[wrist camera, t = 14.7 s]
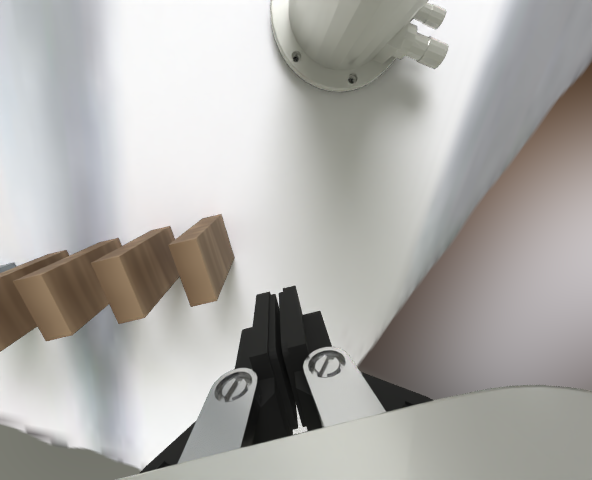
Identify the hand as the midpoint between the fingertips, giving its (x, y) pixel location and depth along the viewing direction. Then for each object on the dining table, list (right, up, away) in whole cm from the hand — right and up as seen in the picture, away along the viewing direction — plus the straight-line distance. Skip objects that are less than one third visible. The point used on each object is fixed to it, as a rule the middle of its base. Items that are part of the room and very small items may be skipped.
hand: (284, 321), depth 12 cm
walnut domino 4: (-8, +4, +18) cm, 20 cm away
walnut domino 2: (-19, +1, +18) cm, 26 cm away
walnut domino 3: (-13, +2, +18) cm, 22 cm away
